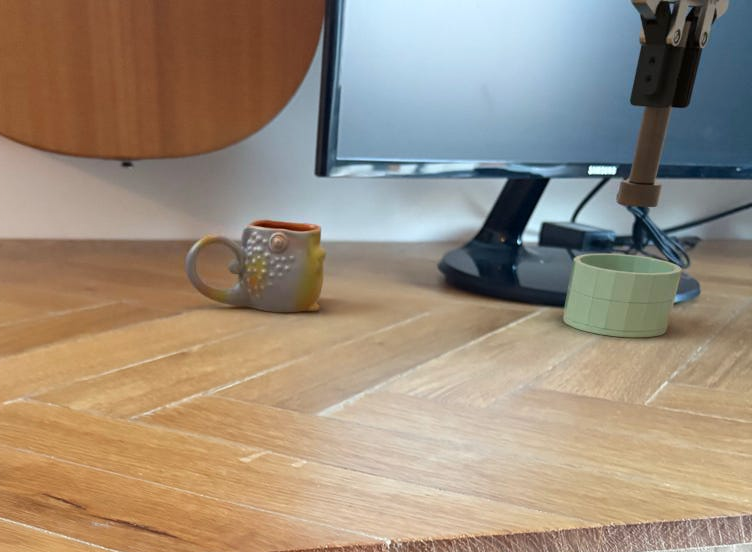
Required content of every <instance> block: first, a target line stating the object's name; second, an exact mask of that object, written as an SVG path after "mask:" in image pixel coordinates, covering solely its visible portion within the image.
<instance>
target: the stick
mask: <svg viewBox="0 0 752 552" xmlns="http://www.w3.org/2000/svg"><path fill="white" fill-rule="evenodd" d="M690 25H691V22H690V21H685V23H684V27H683V32H682V36H681V40H680V42H679V44H678V45H677V47H684V50H683V55H682V59H681V63H680V68H679V72H678V77H677V81H676V86H675V90H674V94H673V99H672V103H671V105H670V106H669V107H668V108H655V107H644V106H643V112H642V116H641V121H640V127H639V132H638V135H637V140H636V145H635V149H634V155H633V160H632V164H631V168H630V173H629V178H628V179H624V180H623V179H621V180H620V183H619V188H618V193H617V198H616V203H617V204H619V205H622V206H628V207H638V208H655V207H658V205H659V201H660V197H661V192H662V189H663V183H660V182H656V179H657V175H658V171H659V166H660V162H661V157H662V152H663V149H664V144H665V139H666V135H667V131H668V126H669V122H670V117H671V112H672V108H673V107H672V105H673V100H674V96H675V91H676V87H677V82H678V78H679V74H680V69H681V65H682V60H683V56H684V52H685V47H686V43H687V38H688V34H689V29H690Z"/></svg>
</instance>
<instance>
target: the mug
mask: <svg viewBox="0 0 752 552" xmlns="http://www.w3.org/2000/svg"><path fill="white" fill-rule="evenodd" d="M321 240H322V226H321V225H317V224H314V223H308V222H306V223H305V222H291V221H280V220H272V219H257V220H254V221H251V222H250V223H248V224H246V225H244V227H243V228H242V233H241V237H240V245H241V246H240V245H239V244H238V243H236V241H235V240H233V239H231V238H229V237H228V236H226V235H223V234H219V233H214V234H209V235H206V236H204V237H202V238H200V239H199V240H197V241H196V242H195V243H194V244H193V245H192V246H191V247H190V249H189V250H188V252H187V255H186V258H185V273H186V276H187V279H188V281H189V282H190V284H191V285H192V286H193V287H194V289H195V290H196V291H197V292H198V293H200V294H201V295H202V296H204V297H205V298H207V299H210V300H211V301H214V302H217V303H220V304H224V305H228V306H236V307H244V308H245V307H246V308H251V309H256V310H259V311H264V312H271V313H272V312H273V313H298V312H316V311H318V310H320V306H319V304H318V300H319V298H320V296H321V293H322V290H323V286H324V261H325V259H326V250H325V249H324V248H323V247H322V245H321ZM211 245H222V246H224V247H227V248H228V249H230V250H231V251H232V252H233V254H234V255H235V258H233V259H231V260H230V261H229V263H228V265H227V270H228V271H229V273H231V274H233V275H237V280H236V282H235V284H234V286H232V287H230V288H220V287H216V286H212V285H210V284H208V283H207V282H205V281H204V280H203V278H202V277H201V275H200V274H199V272H198V270H197V259H198V256H199V254H200V253H201V251H203V249H205V248H206V247H208V246H211Z"/></svg>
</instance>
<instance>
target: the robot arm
mask: <svg viewBox="0 0 752 552" xmlns="http://www.w3.org/2000/svg"><path fill="white" fill-rule="evenodd" d="M630 2H631V4H632V6H633V7H634V8H635V10H636V11H637V13H638V14H639V17H640V22H641V26H640V31H639V37H638V41H639V44H640V50H639V55H638V59H637V65H636V68H635V73H634V79H633V84H632V88H631V95H630V97H629V103H630V105H631V106H632V107H633V106H634V107H635V106H636V107H643V108H644V107H655V108H668V107H669V106H670V105H671V103H672V99H673V94H674V90H675V86H676V81H677V77H678V72H679V68H680V63H681V59H682V55H683V50H684V47H677V45H678V44H679V42H680V40H681V36H682V32H683V27H684V23H685V21H690V22H691V25H690V29H689V34H688V38H687V43H686V47H685V52H684V56H683V60H682V65H681V69H680V74H679V78H678V82H677V87H676V91H675V96H674V100H673V105H672V108H675V109H686V108H688V107H689V106H690V104H691V100H692V95H693V91H694V87H695V83H696V78H697V74H698V70H699V65H700V61H701V57H702V53H703V49H704V48H705V47H706V45H707V44H708V42H709V41H708V40H709V37H710V32H711V29H712V26H713V25H714V23H715V21H716V20H718V19H719V18H721V17H722V16H724V14H726V12H727V11H728V8H729V5H730V0H630ZM671 5H672V10H671ZM689 8H690V10H689V12H688V9H689Z"/></svg>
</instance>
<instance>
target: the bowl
mask: <svg viewBox="0 0 752 552" xmlns="http://www.w3.org/2000/svg"><path fill="white" fill-rule="evenodd" d="M682 271H683V268H682V266H681V267H680V265H679V264H677V263H676V264H675V263H673V262H670V261H667V260H663V259H659V258H654V257H648V256H641V255H635V254H634V255H633V254H624V253H621V254H620V253H586V254H580V255H577V256H575V257H573V260H572V265H571V270H570V276H569V280H568V286H567V292H566V296H565V302H564V306H563V307H564V308H563V316H562V321H563V322H564V323H565V324H566V325H568V326H570V327H571V328H573V329H577V330H580V331H584V332H587V333H592V334H596V335H603V336H609V337H617V338H652V337H658V336H661V335H664V334H665V333H666V332H667V331H668V328H669V327H668V326H669V324H670V321H671V317H672V313H673V308H674V304H675V300H676V295H677V292H678V289H679V284H680V279H681V275H682Z"/></svg>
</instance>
